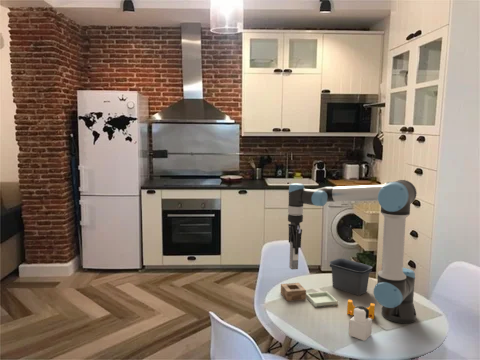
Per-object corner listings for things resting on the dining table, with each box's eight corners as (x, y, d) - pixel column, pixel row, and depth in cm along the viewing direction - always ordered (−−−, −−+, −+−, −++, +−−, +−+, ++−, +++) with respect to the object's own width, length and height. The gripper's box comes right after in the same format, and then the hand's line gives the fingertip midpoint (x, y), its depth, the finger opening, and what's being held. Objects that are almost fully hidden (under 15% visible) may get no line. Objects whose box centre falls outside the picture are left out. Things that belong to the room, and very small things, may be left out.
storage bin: (325, 287, 218) (326, 262, 216) (340, 280, 229) (342, 256, 227) (360, 299, 203) (361, 272, 201) (375, 291, 213) (376, 265, 212)
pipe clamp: (374, 315, 186) (375, 302, 185) (373, 319, 182) (374, 306, 181) (348, 310, 190) (348, 298, 189) (346, 314, 186) (347, 301, 185)
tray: (337, 305, 195) (337, 301, 195) (315, 307, 193) (315, 303, 192) (326, 295, 207) (327, 291, 207) (305, 297, 204) (305, 293, 204)
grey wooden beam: (297, 269, 202) (298, 242, 200) (291, 269, 201) (292, 242, 200) (295, 266, 205) (296, 240, 204) (289, 267, 205) (290, 241, 203)
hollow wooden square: (305, 299, 202) (305, 290, 201) (287, 301, 199) (287, 291, 199) (298, 291, 211) (298, 282, 211) (280, 293, 209) (280, 284, 208)
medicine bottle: (355, 329, 172) (356, 302, 171) (371, 334, 168) (373, 307, 166) (348, 335, 167) (349, 308, 165) (364, 341, 162) (366, 313, 161)
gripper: (308, 217, 193) (307, 263, 196) (296, 210, 209) (295, 253, 212) (294, 217, 191) (292, 264, 194) (283, 210, 207) (281, 254, 210)
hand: (294, 258), depth 203 cm, fingers closed on grey wooden beam, 3 cm apart
